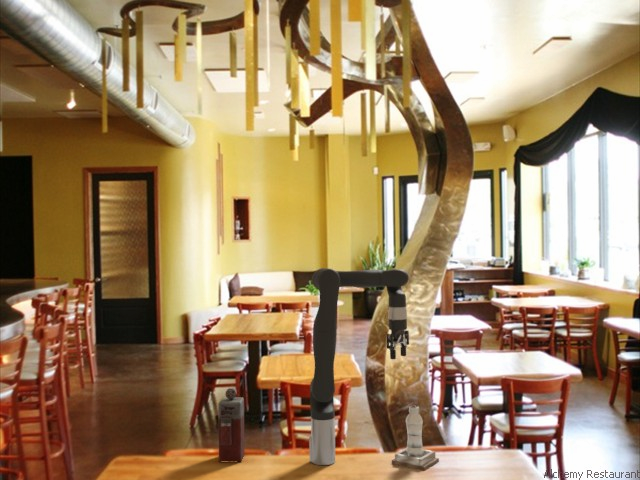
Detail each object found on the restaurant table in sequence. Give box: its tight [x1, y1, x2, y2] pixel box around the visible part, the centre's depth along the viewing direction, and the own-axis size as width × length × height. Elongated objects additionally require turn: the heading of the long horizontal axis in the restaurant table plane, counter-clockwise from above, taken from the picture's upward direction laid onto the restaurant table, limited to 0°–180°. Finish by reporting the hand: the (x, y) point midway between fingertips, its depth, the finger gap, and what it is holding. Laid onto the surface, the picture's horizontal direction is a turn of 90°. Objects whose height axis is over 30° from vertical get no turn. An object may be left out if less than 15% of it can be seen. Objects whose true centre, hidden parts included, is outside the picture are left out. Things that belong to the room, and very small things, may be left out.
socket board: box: [391, 447, 440, 471], centre depth 244 cm, size 14×12×4 cm
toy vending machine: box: [217, 387, 245, 462], centre depth 251 cm, size 9×11×28 cm
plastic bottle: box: [405, 405, 424, 458], centre depth 244 cm, size 6×7×20 cm
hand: (398, 357), depth 259 cm, fingers open, 8 cm apart
